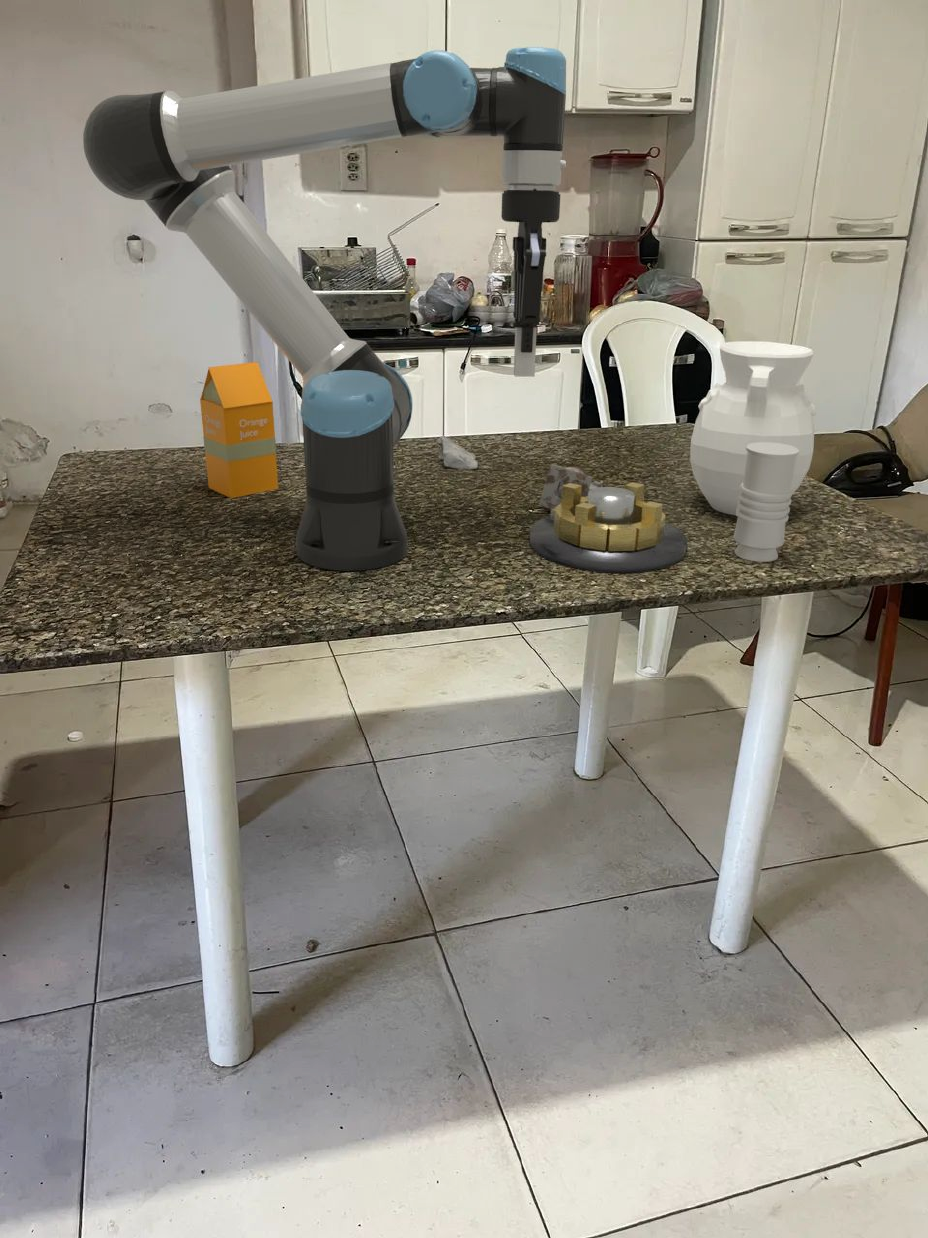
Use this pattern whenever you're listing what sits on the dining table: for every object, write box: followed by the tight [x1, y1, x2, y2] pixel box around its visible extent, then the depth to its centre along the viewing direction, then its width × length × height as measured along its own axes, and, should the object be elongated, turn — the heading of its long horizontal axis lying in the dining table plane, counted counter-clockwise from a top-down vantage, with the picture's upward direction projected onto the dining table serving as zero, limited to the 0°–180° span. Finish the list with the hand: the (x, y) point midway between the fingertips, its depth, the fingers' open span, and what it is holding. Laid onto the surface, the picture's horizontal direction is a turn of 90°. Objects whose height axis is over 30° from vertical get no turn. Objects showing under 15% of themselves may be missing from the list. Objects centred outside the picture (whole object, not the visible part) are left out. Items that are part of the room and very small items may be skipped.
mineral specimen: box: [436, 435, 479, 471], centre depth 173 cm, size 6×12×4 cm, turn 8°
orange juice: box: [199, 361, 279, 499], centre depth 152 cm, size 8×9×20 cm
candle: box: [733, 442, 799, 563], centre depth 129 cm, size 7×7×15 cm
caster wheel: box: [538, 464, 608, 510], centre depth 149 cm, size 7×11×10 cm
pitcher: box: [689, 340, 817, 516], centre depth 147 cm, size 19×18×25 cm
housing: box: [529, 486, 688, 574], centre depth 133 cm, size 22×22×8 cm
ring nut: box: [550, 482, 667, 551], centre depth 133 cm, size 15×15×6 cm
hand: (524, 375), depth 131 cm, fingers closed
